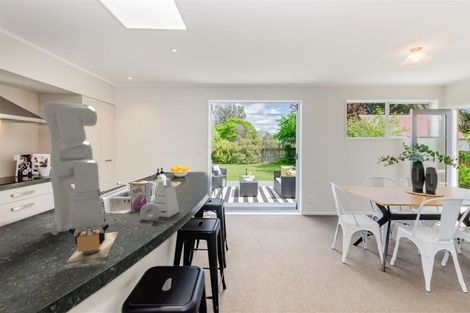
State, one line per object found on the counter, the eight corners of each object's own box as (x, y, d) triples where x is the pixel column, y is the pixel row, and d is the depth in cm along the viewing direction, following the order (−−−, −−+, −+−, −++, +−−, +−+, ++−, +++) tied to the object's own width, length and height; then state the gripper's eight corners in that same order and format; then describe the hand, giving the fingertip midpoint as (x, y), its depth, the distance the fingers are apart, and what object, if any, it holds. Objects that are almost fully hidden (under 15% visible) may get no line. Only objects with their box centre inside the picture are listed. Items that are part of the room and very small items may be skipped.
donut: (140, 223, 124) (139, 204, 123) (140, 221, 127) (139, 202, 126) (160, 221, 126) (159, 202, 126) (160, 219, 130) (160, 201, 129)
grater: (152, 215, 137) (151, 180, 136) (164, 210, 147) (162, 177, 146) (168, 217, 134) (167, 180, 133) (179, 211, 144) (177, 178, 142)
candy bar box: (130, 209, 152) (129, 183, 151) (135, 207, 157) (134, 181, 156) (146, 209, 150) (145, 183, 149) (151, 207, 155) (150, 182, 154)
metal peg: (80, 256, 85) (79, 229, 85) (85, 250, 90) (83, 224, 90) (97, 254, 87) (95, 227, 86) (100, 248, 92) (99, 223, 91)
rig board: (66, 266, 82) (66, 262, 82) (88, 238, 106) (88, 235, 106) (106, 260, 85) (106, 256, 85) (118, 235, 109) (118, 231, 109)
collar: (83, 244, 91) (82, 231, 90) (102, 242, 92) (102, 229, 92) (77, 252, 85) (76, 238, 84) (98, 249, 86) (97, 235, 86)
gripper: (116, 191, 93) (118, 237, 95) (63, 195, 89) (67, 243, 90) (112, 195, 86) (115, 245, 87) (55, 199, 81) (58, 252, 82)
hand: (90, 243), depth 88 cm, fingers closed on collar, 6 cm apart
